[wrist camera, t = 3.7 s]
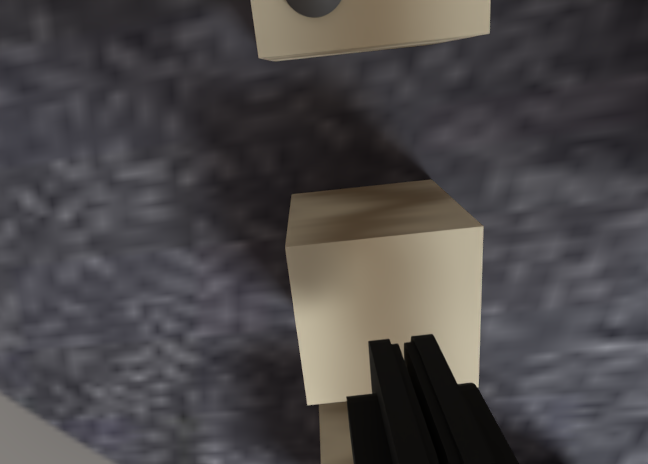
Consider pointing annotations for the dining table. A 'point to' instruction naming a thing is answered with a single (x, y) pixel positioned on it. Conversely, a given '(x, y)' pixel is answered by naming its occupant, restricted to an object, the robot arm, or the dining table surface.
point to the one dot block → (335, 434)
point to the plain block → (381, 281)
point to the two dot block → (361, 25)
